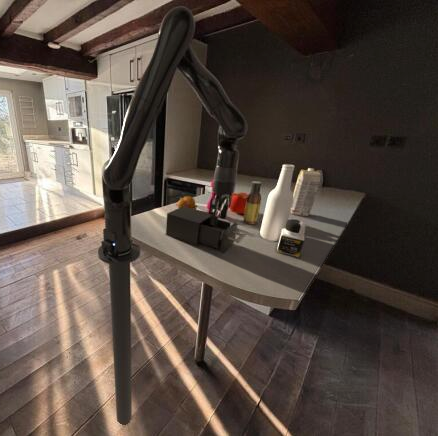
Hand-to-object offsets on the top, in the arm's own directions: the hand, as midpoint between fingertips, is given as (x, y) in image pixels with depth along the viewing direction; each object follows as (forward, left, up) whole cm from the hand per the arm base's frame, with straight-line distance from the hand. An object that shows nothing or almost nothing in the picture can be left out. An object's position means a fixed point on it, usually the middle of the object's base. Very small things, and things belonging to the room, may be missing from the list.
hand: (218, 221), depth 87 cm
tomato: (+43, +6, -10) cm, 45 cm away
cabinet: (0, +12, -10) cm, 15 cm away
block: (0, 0, -8) cm, 8 cm away
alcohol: (+22, -15, -10) cm, 28 cm away
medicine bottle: (+14, -23, -10) cm, 29 cm away
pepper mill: (+30, +15, -10) cm, 35 cm away
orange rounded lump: (+22, +26, -10) cm, 36 cm away
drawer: (0, -1, -9) cm, 9 cm away
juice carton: (+63, -19, -10) cm, 67 cm away
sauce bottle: (+32, -3, -10) cm, 34 cm away
